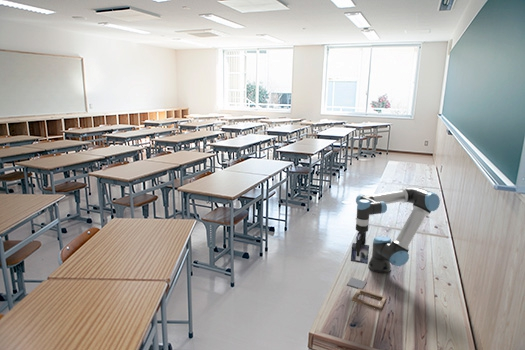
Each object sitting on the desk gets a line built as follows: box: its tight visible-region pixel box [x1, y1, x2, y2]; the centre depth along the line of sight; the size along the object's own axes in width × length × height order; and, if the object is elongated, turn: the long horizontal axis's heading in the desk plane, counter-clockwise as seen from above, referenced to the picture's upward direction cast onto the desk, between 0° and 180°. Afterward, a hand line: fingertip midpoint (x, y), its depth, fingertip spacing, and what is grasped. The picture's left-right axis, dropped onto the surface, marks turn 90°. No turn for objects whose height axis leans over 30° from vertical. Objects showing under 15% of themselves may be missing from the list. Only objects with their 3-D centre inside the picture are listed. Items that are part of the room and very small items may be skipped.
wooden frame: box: [351, 288, 387, 312], centre depth 203 cm, size 13×17×2 cm
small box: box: [350, 242, 370, 265], centre depth 216 cm, size 11×6×10 cm, turn 71°
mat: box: [346, 277, 368, 290], centre depth 221 cm, size 10×10×1 cm
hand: (359, 257), depth 217 cm, fingers closed on small box, 7 cm apart
